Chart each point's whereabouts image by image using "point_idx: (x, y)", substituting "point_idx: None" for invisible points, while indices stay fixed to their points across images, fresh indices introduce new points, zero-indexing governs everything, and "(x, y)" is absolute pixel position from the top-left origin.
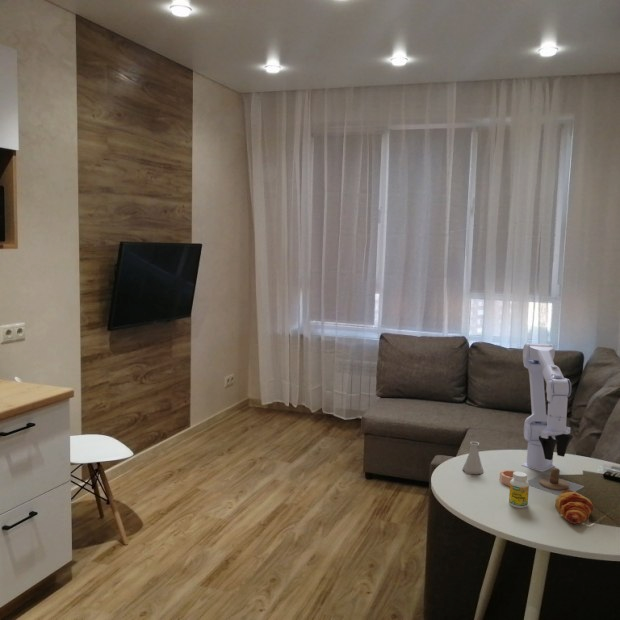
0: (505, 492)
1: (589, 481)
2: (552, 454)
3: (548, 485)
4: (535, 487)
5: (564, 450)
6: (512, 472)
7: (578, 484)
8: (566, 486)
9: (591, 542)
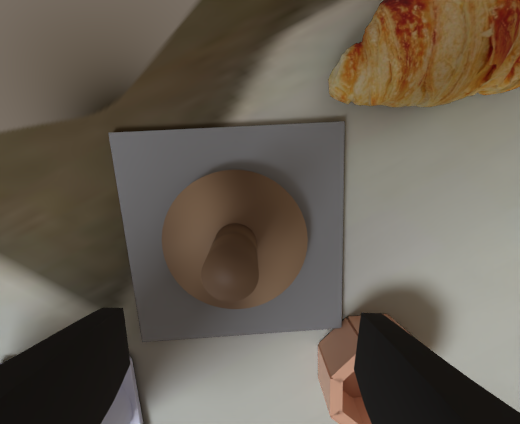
0: (481, 316)
1: (3, 161)
2: (416, 352)
3: (298, 239)
4: (341, 272)
5: (67, 356)
6: (342, 407)
7: (116, 167)
8: (231, 176)
9: None
